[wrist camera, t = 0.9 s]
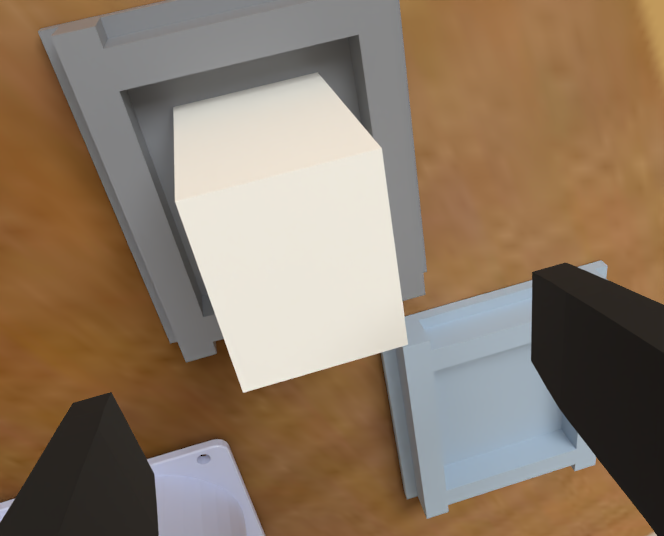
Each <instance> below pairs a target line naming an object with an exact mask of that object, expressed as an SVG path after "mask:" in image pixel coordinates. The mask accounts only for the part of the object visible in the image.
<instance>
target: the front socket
mask: <svg viewBox="0 0 664 536" xmlns="http://www.w3.org/2000/svg"><path fill="white" fill-rule="evenodd" d="M38 33H39V35H40V38H41V40H42V42H43V45H44V47H45V50H46V52H47V54H48V57H49V59H50V61H51V64H52V66H53V68H54V71H55V73H56V75H57V78H58V80H59V82H60V85H61V87H62V90H63V92H64V94H65V97H66V99H67V101H68V104H69V106H70V108H71V111H72V113H73V115H74V118H75V120H76V122H77V125H78V127H79V130H80V132H81V134H82V137H83V139H84V141H85V144H86V146H87V148H88V151H89V153H90V155H91V158H92V160H93V163H94V165H95V167H96V170H97V172H98V174H99V177H100V179H101V181H102V184H103V186H104V188H105V191H106V193H107V195H108V198H109V200H110V203H111V205H112V207H113V210H114V212H115V214H116V217H117V219H118V221H119V224H120V226H121V228H122V231H123V233H124V235H125V238H126V240H127V243H128V245H129V247H130V250H131V252H132V254H133V257H134V259H135V261H136V264H137V266H138V268H139V271H140V273H141V276H142V278H143V280H144V283H145V285H146V287H147V290H148V292H149V294H150V297H151V299H152V301H153V304H154V306H155V308H156V311H157V313H158V316H159V318H160V320H161V323H162V325H163V327H164V330H165V332H166V334H167V337H168V339H169V341H170V344H171V343H174V342H178V344H179V347H180V349H181V352H182V354H183V356H184V359H185V361H186V362H190V361H193V360H197V359H200V358H204V357H207V356H211V355H214V354H217V349H216V341H218V340H221V339H224V338H223V335H222V332H221V329H220V326H219V324H218V321H217V318H216V315H215V312H214V310H213V307H212V304H211V301H210V298H209V296H208V293H207V290H206V287H205V284H204V282H203V279H202V276H201V273H200V271H199V268H198V265H197V262H196V259H195V257H194V254H193V251H192V248H191V245H190V243H189V240H188V237H187V234H186V231H185V229H184V226H183V223H182V220H181V217H180V215H179V212H178V209H177V206H176V203H175V179H174V117H173V107H176V106H181V105H185V104H189V103H193V102H197V101H201V100H205V99H209V98H214V97H218V96H222V95H226V94H230V93H234V92H238V91H242V90H247V89H251V88H255V87H259V86H263V85H267V84H271V83H276V82H280V81H284V80H288V79H292V78H296V77H300V76H304V75H309V74H313V73H317V72H318V73H319V75H320V76H321V77H322V78H323V79H324V81H325V82H326V83H327V84H328V85H329V86H330V88H331V89H332V90H333V91H334V92H335V94H336V95H337V96H338V97H339V98H340V99H341V101H342V102H343V103H344V104H345V105H346V107H347V108H348V109H349V110H350V111H351V112H352V114H353V115H354V116H355V117H356V118H357V120H358V121H359V122H360V123H361V124H362V125H363V127H364V128H365V129H366V130H367V131H368V133H369V134H370V135H371V136H372V137H373V138H374V140H375V141H376V142H377V143H378V144H379V146H380V147H381V148H382V154H383V161H384V168H385V176H386V183H387V191H388V198H389V206H390V213H391V221H392V228H393V235H394V243H395V250H396V258H397V265H398V273H399V280H400V288H401V295H402V301H405V300H408V299H412V298H415V297H419V296H422V295H425V286H424V276H423V273H424V272H427V268H426V258H425V249H424V239H423V229H422V219H421V210H420V200H419V190H418V180H417V170H416V161H415V151H414V141H413V131H412V122H411V112H410V102H409V92H408V83H407V73H406V63H405V53H404V43H403V34H402V24H401V14H400V4H399V0H166V1H161V2H157V3H152V4H148V5H144V6H139V7H135V8H130V9H126V10H121V11H117V12H112V13H108V14H103V15H99V16H95V17H90V18H86V19H81V20H77V21H72V22H68V23H63V24H59V25H54V26H50V27H46V28H41V29H40V30H39V31H38Z"/></svg>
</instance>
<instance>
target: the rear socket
mask: <svg viewBox="0 0 664 536" xmlns="http://www.w3.org/2000/svg"><path fill="white" fill-rule="evenodd" d="M578 268H581V269H583V270H585V271H588V272H590V273H592V274H595V275H597V276H599V277H602V278H604V279H606V275H607V265H606V264H605V263H604V262H602V261H597V262H594V263H590V264H587V265H583V266H580V267H578ZM606 280H607V279H606ZM405 325H406V332H407V340H408V345H405V346H402V347H398V348H395V349H392V350H388V351H385V352H381V357H382V363H383V369H384V375H385V381H386V387H387V393H388V399H389V405H390V410H391V416H392V422H393V428H394V434H395V440H396V446H397V452H398V458H399V464H400V469H401V475H402V481H403V487H404V493H405V495H406V498H407V499H410V498H413V497H416V496H418V498H419V500H420V503H421V505H422V508H423V510H424V513H425V515H426V517H427V519H428V518H431V517H434V516H437V515H440V514H443V513H447V512H449V511H448V505H449V504H452V503H456V502H459V501H462V500H465V499H468V498H471V497H474V496H477V495H480V494H484V493H487V492H490V491H493V490H496V489H499V488H502V487H505V486H509V485H512V484H515V483H518V482H521V481H524V480H527V479H530V478H533V477H537V476H540V475H543V474H546V473H549V472H552V471H555V470H558V469H561V468H565V467H568V466H571V467H572V468H573V470H574V471H577V470H580V469H583V468H586V467H589V466H592V465H595V462H596V456H595V454H594V453H593V452H592V451H591V449H590V448H589V447H588V446H587V444H586V443H585V442H584V440H583V439H582V438H581V437H580V435H579V434H578V433H577V431H576V430H575V429H574V428H573V426H572V425H571V424H570V422H569V421H568V420H567V418H566V417H565V416H564V414H563V413H562V412H561V410H560V409H559V407H558V406H557V404H556V403H555V401H554V399H553V398H552V396H551V394H550V393H549V391H548V390H547V388H546V386H545V384H544V383H543V381H542V379H541V377H540V376H539V374H538V372H537V370H536V369H535V367H534V365H533V363H532V362H531V327H532V280H531V281H527V282H524V283H520V284H517V285H513V286H510V287H506V288H503V289H499V290H496V291H492V292H489V293H486V294H482V295H479V296H475V297H472V298H468V299H465V300H461V301H458V302H454V303H451V304H447V305H444V306H440V307H437V308H433V309H430V310H426V311H423V312H419V313H416V314H412V315H409V316H405Z"/></svg>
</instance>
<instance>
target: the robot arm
mask: <svg viewBox="0 0 664 536" xmlns="http://www.w3.org/2000/svg"><path fill="white" fill-rule="evenodd" d="M531 362H532V363H533V365H534V367H535V369H536V370H537V372H538V374H539V376H540V377H541V379H542V381H543V383H544V384H545V386H546V388H547V390H548V391H549V393H550V394H551V396H552V398H553V399H554V401H555V403H556V404H557V406H558V407H559V409H560V410H561V412H562V413H563V414H564V416H565V417H566V418H567V420H568V421H569V422H570V424H571V425H572V426H573V428H574V429H575V430H576V431H577V433H578V434H579V435H580V437H581V438H582V439H583V440H584V442H585V443H586V444H587V446H588V447H589V448H590V449H591V451H592V452H593V453H594V454H595V456H596V457H597V458H598V460H599V461H600V462H601V463H602V465H603V466H604V467H605V468H606V470H607V471H608V472H609V474H610V475H611V476H612V477H613V479H614V480H615V481H616V482H617V484H618V485H619V486H620V487H621V489H622V490H623V491H624V493H625V494H626V495H627V496H628V498H629V499H630V500H631V501H632V503H633V504H634V505H635V507H636V508H637V509H638V510H639V512H640V513H641V514H642V515H643V517H644V518H645V519H646V521H647V522H648V523H649V525H650V526H651V528H652V529H653V530H654V532H655V533H656V534H657V536H664V305H663V304H660V303H658V302H656V301H654V300H651V299H649V298H647V297H644V296H642V295H640V294H638V293H635V292H633V291H631V290H629V289H626V288H624V287H622V286H620V285H617V284H615V283H613V282H611V281H608V280H606V279H604V278H602V277H599V276H597V275H595V274H592V273H590V272H588V271H585V270H583V269H581V268H578V267H576V266H573V265H570V264H568V263H563V264H559V265H556V266H552V267H549V268H545V269H541V270H538V271H534V272H532V327H531ZM203 454H206V456H200V455H203ZM0 536H265V533H264V531H263V528H262V526H261V524H260V521H259V519H258V516H257V514H256V511H255V509H254V506H253V504H252V501H251V499H250V496H249V494H248V491H247V489H246V486H245V484H244V481H243V479H242V476H241V474H240V471H239V469H238V466H237V464H236V462H235V459H234V457H233V454H232V452H231V449H230V447H229V444H228V443H227V442H226V441H224V440H221V439H214V440H210V441H207V442H203V443H200V444H197V445H193V446H190V447H186V448H183V449H180V450H176V451H173V452H170V453H166V454H163V455H160V456H156V457H153V458H150V459H146V457H145V455H144V453H143V451H142V449H141V448H140V446H139V444H138V442H137V440H136V438H135V436H134V434H133V432H132V431H131V429H130V427H129V425H128V423H127V421H126V419H125V417H124V415H123V413H122V412H121V410H120V408H119V406H118V404H117V402H116V400H115V398H114V396H113V395H112V393H111V392H110V393H107V394H103V395H100V396H96V397H93V398H89V399H86V400H82V401H79V402H75V403H73V404H72V406H71V407H70V409H69V410H68V412H67V414H66V415H65V417H64V419H63V420H62V422H61V423H60V425H59V427H58V428H57V430H56V432H55V433H54V435H53V437H52V438H51V440H50V442H49V443H48V445H47V447H46V448H45V450H44V452H43V453H42V455H41V457H40V458H39V460H38V462H37V463H36V465H35V467H34V468H33V470H32V472H31V473H30V475H29V477H28V478H27V480H26V482H25V483H24V485H23V487H22V488H21V490H20V491H19V493H18V495H17V496H16V498H15V499H12V500H9V501H5V502H2V503H0Z"/></svg>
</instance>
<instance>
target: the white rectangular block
mask: <svg viewBox="0 0 664 536" xmlns="http://www.w3.org/2000/svg"><path fill="white" fill-rule="evenodd" d="M173 117H174V179H175V203H176V206H177V209H178V212H179V215H180V217H181V220H182V223H183V226H184V229H185V231H186V234H187V237H188V240H189V243H190V245H191V248H192V251H193V254H194V257H195V259H196V262H197V265H198V268H199V271H200V273H201V276H202V279H203V282H204V284H205V287H206V290H207V293H208V296H209V298H210V301H211V304H212V307H213V310H214V312H215V315H216V318H217V321H218V324H219V326H220V329H221V332H222V335H223V338H224V340H225V343H226V346H227V349H228V352H229V354H230V357H231V360H232V363H233V366H234V368H235V371H236V374H237V377H238V380H239V382H240V385H241V388H242V391H243V393H244V392H248V391H251V390H254V389H258V388H261V387H265V386H268V385H272V384H275V383H278V382H282V381H285V380H289V379H292V378H296V377H299V376H302V375H306V374H309V373H313V372H316V371H320V370H323V369H326V368H330V367H333V366H337V365H340V364H344V363H347V362H350V361H354V360H357V359H361V358H364V357H368V356H371V355H374V354H378V353H381V352H385V351H388V350H392V349H395V348H398V347H402V346H405V345H408V340H407V332H406V325H405V317H404V310H403V302H402V295H401V288H400V280H399V273H398V265H397V258H396V250H395V243H394V235H393V228H392V221H391V213H390V206H389V198H388V191H387V183H386V176H385V168H384V161H383V154H382V148H381V147H380V146H379V144H378V143H377V142H376V141H375V140H374V138H373V137H372V136H371V135H370V134H369V133H368V131H367V130H366V129H365V128H364V127H363V125H362V124H361V123H360V122H359V121H358V120H357V118H356V117H355V116H354V115H353V114H352V112H351V111H350V110H349V109H348V108H347V107H346V105H345V104H344V103H343V102H342V101H341V99H340V98H339V97H338V96H337V95H336V94H335V92H334V91H333V90H332V89H331V88H330V86H329V85H328V84H327V83H326V82H325V81H324V79H323V78H322V77H321V76H320V75H319V73H318V72H317V73H313V74H309V75H304V76H300V77H296V78H292V79H288V80H284V81H280V82H276V83H271V84H267V85H263V86H259V87H255V88H251V89H247V90H242V91H238V92H234V93H230V94H226V95H222V96H218V97H214V98H209V99H205V100H201V101H197V102H193V103H189V104H185V105H181V106H176V107H173Z"/></svg>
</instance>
